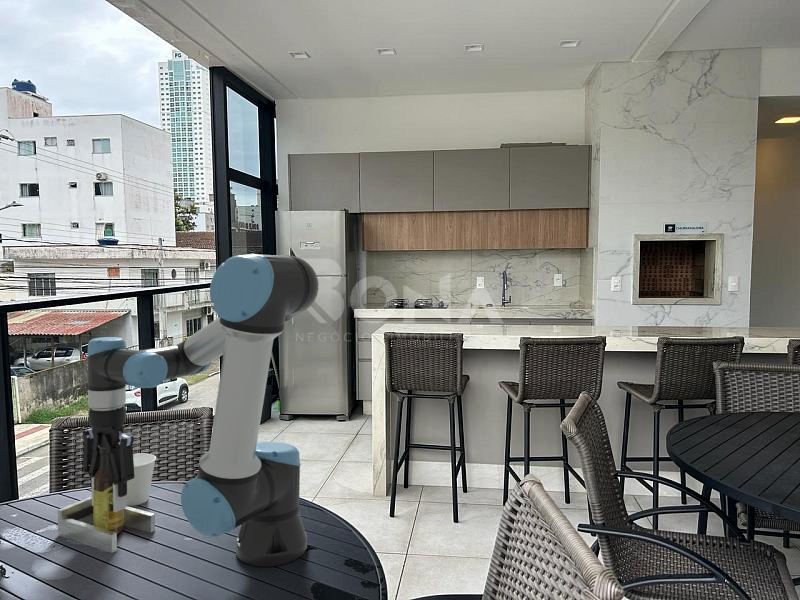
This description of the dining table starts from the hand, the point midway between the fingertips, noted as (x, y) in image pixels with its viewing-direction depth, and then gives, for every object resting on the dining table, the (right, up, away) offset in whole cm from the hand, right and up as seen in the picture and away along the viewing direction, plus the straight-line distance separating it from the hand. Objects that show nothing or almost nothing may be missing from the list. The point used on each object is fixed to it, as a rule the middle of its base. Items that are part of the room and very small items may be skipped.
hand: (108, 506), depth 129 cm
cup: (-2, -5, +18) cm, 19 cm away
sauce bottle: (0, -6, 0) cm, 6 cm away
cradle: (0, -6, 0) cm, 6 cm away
